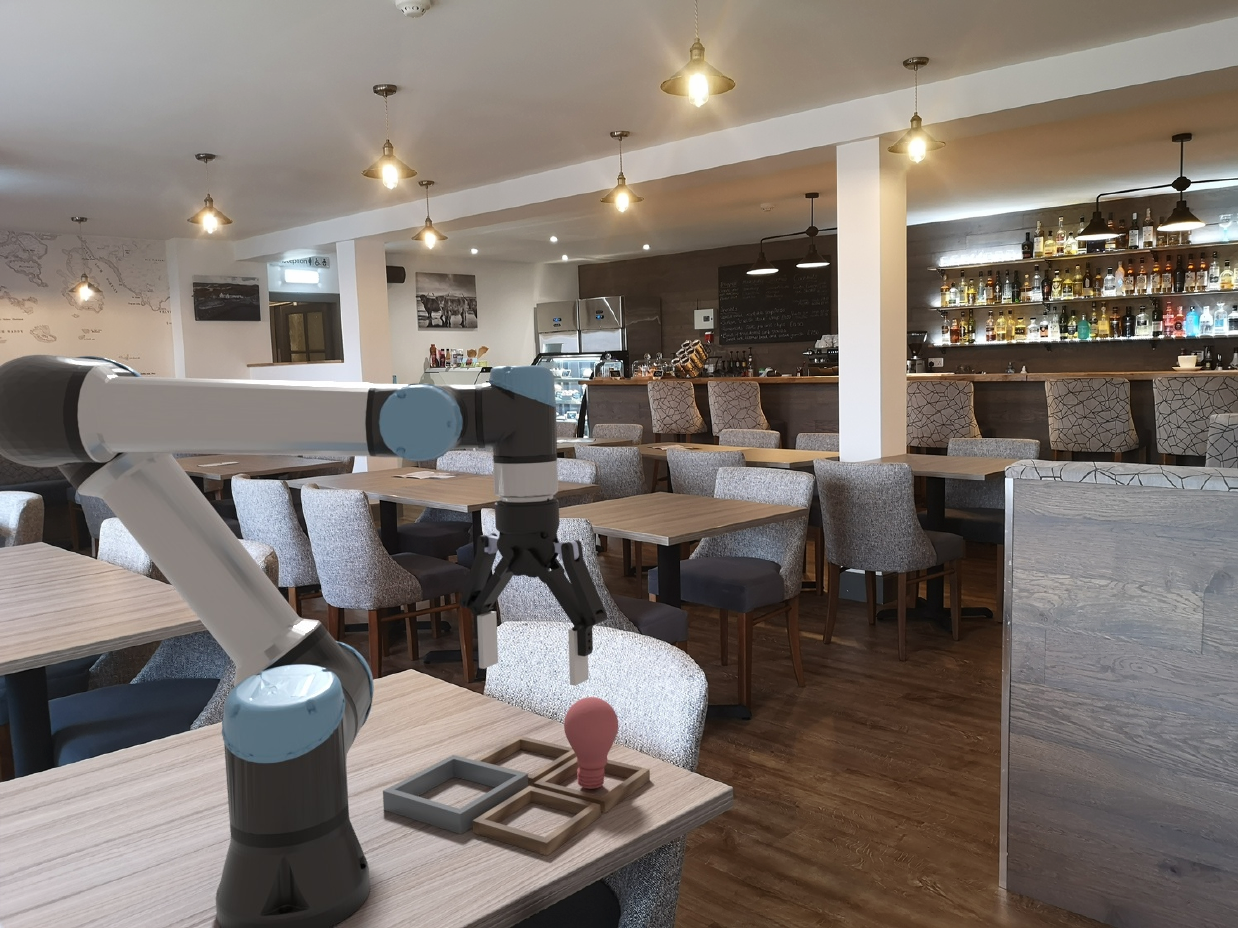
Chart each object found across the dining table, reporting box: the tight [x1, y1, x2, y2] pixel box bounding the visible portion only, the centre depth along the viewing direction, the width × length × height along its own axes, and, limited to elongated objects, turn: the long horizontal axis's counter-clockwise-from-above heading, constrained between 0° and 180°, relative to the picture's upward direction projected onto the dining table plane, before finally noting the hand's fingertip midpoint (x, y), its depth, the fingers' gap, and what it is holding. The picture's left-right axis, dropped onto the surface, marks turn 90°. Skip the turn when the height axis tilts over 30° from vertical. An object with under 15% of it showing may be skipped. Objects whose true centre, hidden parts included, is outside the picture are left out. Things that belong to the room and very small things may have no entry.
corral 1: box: [382, 754, 528, 835], centre depth 119 cm, size 13×13×2 cm
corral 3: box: [472, 786, 602, 856], centre depth 112 cm, size 11×11×2 cm
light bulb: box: [563, 696, 619, 790], centre depth 122 cm, size 7×7×12 cm
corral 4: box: [534, 757, 651, 814], centre depth 123 cm, size 11×11×2 cm
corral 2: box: [473, 735, 577, 787], centre depth 130 cm, size 11×11×2 cm
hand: (532, 673), depth 111 cm, fingers open, 13 cm apart
